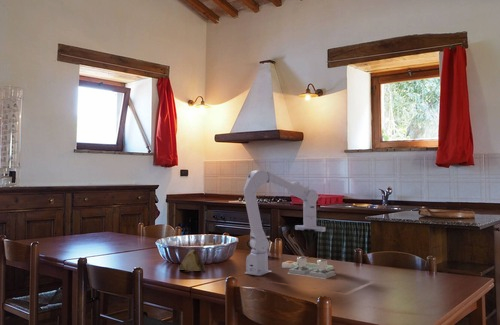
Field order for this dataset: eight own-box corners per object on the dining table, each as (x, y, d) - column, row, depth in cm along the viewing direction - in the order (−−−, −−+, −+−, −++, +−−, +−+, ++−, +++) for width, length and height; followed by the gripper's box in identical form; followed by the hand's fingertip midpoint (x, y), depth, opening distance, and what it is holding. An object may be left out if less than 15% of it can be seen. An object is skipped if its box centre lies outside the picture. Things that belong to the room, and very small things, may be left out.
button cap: (290, 268, 205) (290, 262, 205) (285, 268, 207) (285, 261, 207) (294, 267, 207) (293, 261, 208) (288, 267, 209) (288, 260, 209)
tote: (324, 274, 194) (323, 268, 194) (293, 269, 203) (293, 264, 204) (333, 270, 201) (333, 265, 201) (303, 266, 210) (303, 262, 210)
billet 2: (324, 276, 185) (323, 261, 185) (315, 275, 188) (315, 260, 188) (328, 275, 188) (328, 259, 189) (320, 273, 191) (320, 258, 191)
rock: (172, 266, 202) (186, 266, 195) (180, 249, 207) (194, 248, 200) (188, 278, 208) (203, 278, 201) (196, 261, 212) (210, 260, 205)
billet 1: (304, 273, 192) (304, 258, 192) (295, 272, 194) (295, 257, 194) (308, 271, 195) (307, 256, 195) (299, 270, 197) (298, 255, 197)
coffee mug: (270, 254, 244) (270, 235, 245) (269, 257, 236) (269, 237, 236) (248, 254, 245) (248, 235, 246) (246, 257, 237) (246, 237, 237)
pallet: (324, 280, 182) (324, 274, 182) (286, 275, 193) (286, 269, 193) (336, 276, 189) (336, 270, 190) (299, 271, 201) (299, 265, 201)
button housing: (291, 269, 204) (291, 264, 204) (281, 268, 207) (281, 262, 207) (297, 268, 208) (297, 262, 208) (288, 266, 211) (288, 261, 211)
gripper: (328, 216, 203) (329, 247, 203) (300, 214, 212) (301, 244, 212) (320, 217, 198) (321, 249, 197) (292, 216, 207) (292, 246, 206)
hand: (310, 247), depth 204 cm, fingers closed
